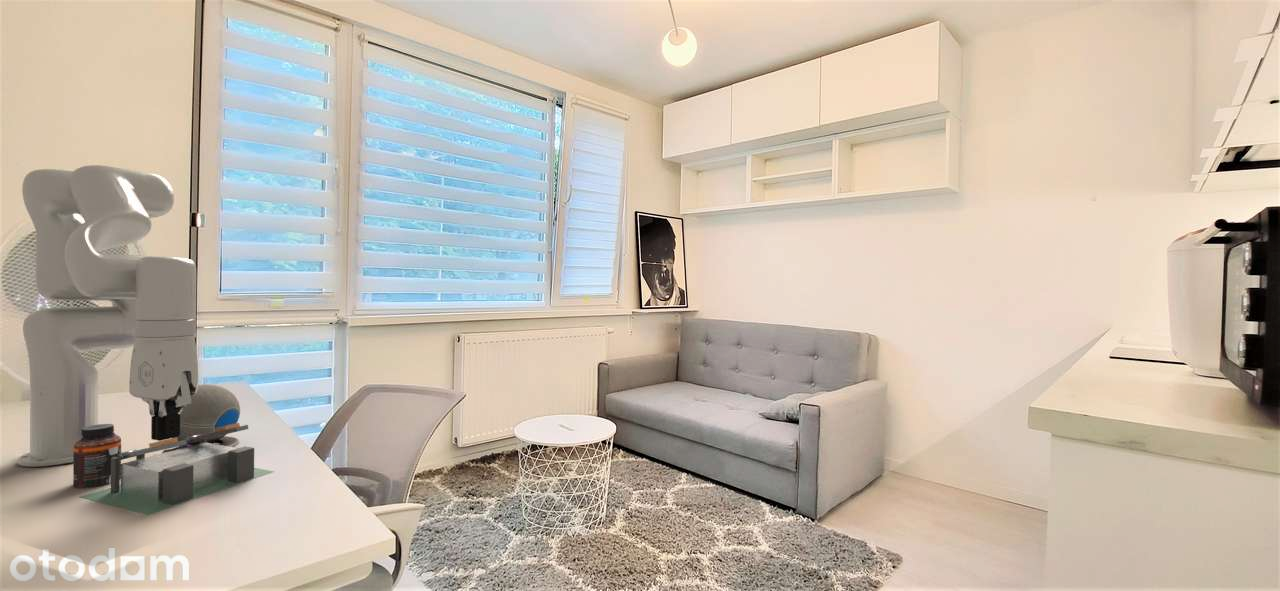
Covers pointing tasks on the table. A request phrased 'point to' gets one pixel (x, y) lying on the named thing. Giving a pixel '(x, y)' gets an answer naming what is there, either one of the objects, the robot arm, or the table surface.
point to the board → (155, 504)
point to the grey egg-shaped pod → (209, 415)
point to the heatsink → (148, 472)
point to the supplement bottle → (95, 456)
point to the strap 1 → (153, 448)
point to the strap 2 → (217, 432)
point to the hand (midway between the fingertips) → (165, 437)
